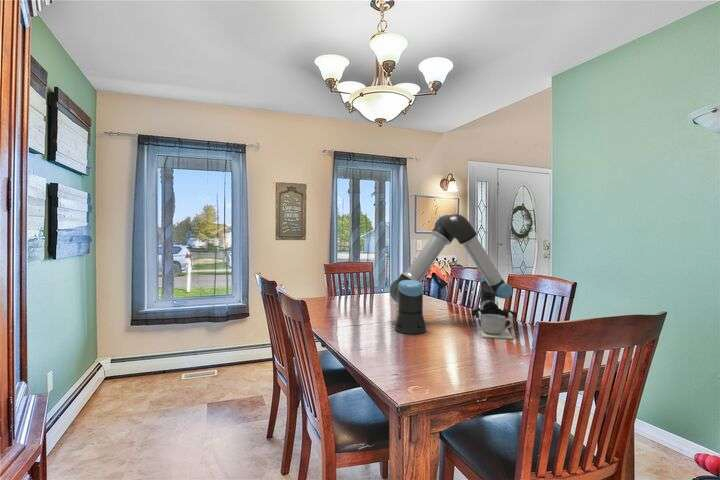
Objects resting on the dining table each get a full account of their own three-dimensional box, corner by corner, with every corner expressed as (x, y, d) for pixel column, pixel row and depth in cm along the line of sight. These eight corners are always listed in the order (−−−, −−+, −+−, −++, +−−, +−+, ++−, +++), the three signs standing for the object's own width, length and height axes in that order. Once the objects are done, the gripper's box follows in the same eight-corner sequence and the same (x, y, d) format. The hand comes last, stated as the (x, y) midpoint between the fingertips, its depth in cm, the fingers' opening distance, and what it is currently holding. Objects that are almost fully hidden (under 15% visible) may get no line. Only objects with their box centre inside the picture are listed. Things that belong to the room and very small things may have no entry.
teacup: (476, 332, 173) (476, 315, 173) (488, 328, 180) (488, 311, 180) (504, 339, 163) (505, 320, 163) (516, 334, 170) (516, 317, 170)
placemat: (482, 338, 166) (482, 336, 166) (478, 327, 185) (478, 326, 185) (513, 339, 164) (513, 338, 164) (506, 328, 182) (506, 327, 182)
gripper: (516, 316, 189) (525, 327, 168) (464, 314, 194) (467, 324, 174) (516, 302, 189) (525, 310, 168) (464, 300, 194) (467, 308, 174)
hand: (495, 317), depth 171 cm, fingers open, 13 cm apart
